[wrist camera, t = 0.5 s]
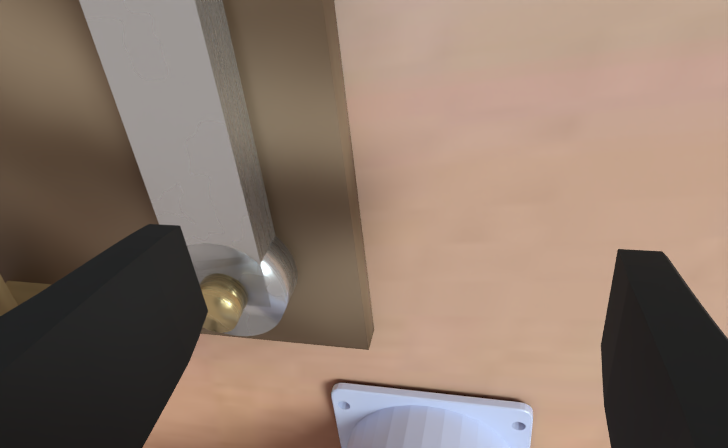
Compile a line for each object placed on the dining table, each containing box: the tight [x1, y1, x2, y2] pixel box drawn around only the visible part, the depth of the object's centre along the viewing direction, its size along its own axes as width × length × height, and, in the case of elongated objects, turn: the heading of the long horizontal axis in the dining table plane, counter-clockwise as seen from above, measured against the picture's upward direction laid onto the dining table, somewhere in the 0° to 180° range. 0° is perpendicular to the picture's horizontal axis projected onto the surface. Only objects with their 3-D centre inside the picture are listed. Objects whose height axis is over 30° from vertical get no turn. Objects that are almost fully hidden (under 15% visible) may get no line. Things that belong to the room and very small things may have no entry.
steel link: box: [79, 0, 298, 336], centre depth 18 cm, size 13×4×2 cm, turn 5°
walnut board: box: [0, 0, 374, 350], centre depth 20 cm, size 15×20×4 cm
